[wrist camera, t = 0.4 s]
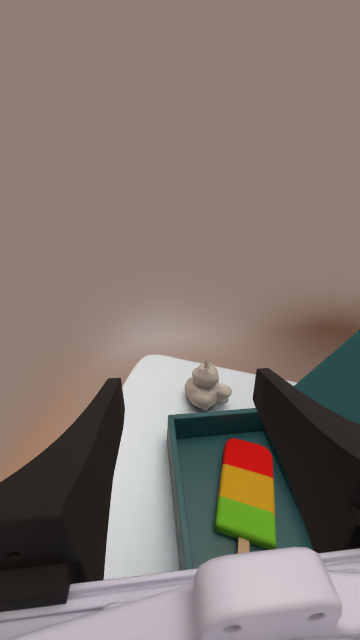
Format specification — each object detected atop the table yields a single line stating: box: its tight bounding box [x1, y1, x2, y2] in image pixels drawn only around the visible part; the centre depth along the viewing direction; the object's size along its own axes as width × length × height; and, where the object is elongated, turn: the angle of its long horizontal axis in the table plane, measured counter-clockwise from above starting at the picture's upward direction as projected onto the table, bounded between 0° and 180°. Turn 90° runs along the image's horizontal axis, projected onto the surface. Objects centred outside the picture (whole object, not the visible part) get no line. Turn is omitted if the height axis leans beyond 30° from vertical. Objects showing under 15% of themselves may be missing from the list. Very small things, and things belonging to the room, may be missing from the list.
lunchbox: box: [167, 408, 313, 571], centre depth 24 cm, size 13×19×5 cm
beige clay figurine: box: [185, 360, 232, 410], centre depth 35 cm, size 5×7×8 cm
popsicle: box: [214, 438, 277, 554], centre depth 24 cm, size 6×15×2 cm, turn 165°
